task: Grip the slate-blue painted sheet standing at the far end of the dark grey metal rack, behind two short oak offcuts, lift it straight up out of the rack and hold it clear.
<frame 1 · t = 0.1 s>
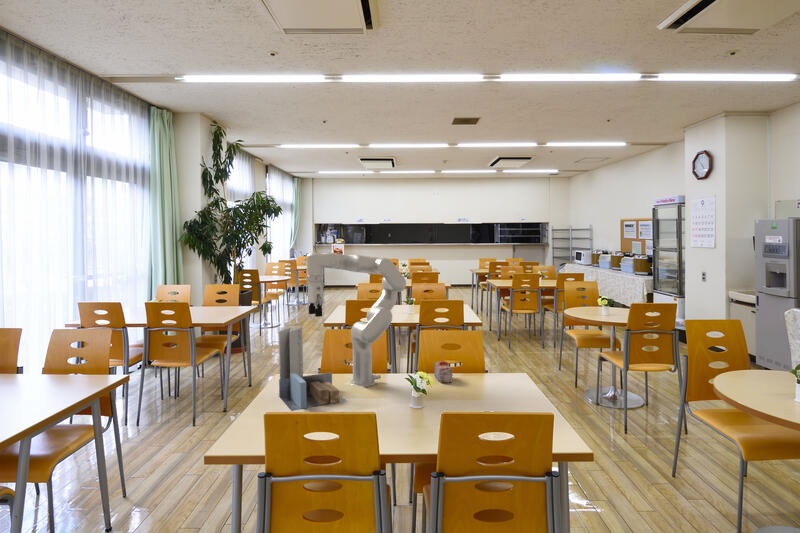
hand: (315, 315, 226), 37 cm above the table, tool pointing down, fingers open, 9 cm apart
offcut short: (329, 397, 216), point 1 cm above the table, touching rack
offcut tall: (319, 399, 213), point 1 cm above the table, touching rack
food item: (442, 380, 246), on the table
sheet: (298, 402, 209), point 1 cm above the table, touching rack
brochure: (291, 390, 230), on the table
rack: (313, 401, 213), on the table
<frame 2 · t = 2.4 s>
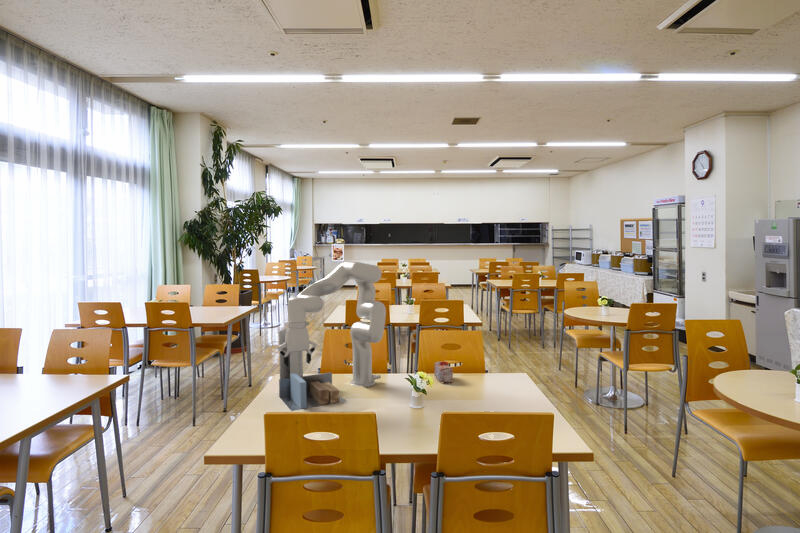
hand: (297, 364, 208), 18 cm above the table, tool pointing down, fingers open, 9 cm apart
nothing on the table moved.
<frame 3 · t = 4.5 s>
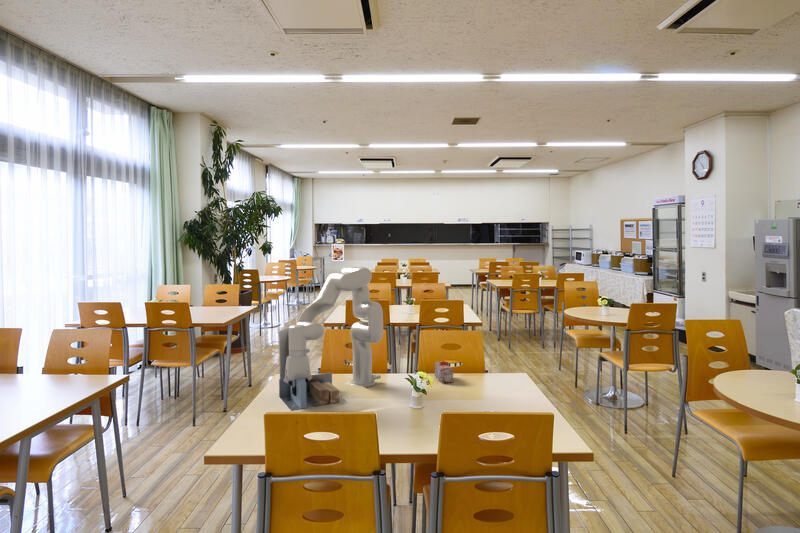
hand: (298, 394, 209), 5 cm above the table, tool pointing down, fingers closed on sheet, 2 cm apart
sheet: (298, 402, 209), point 1 cm above the table, touching gripper
everything else where it was.
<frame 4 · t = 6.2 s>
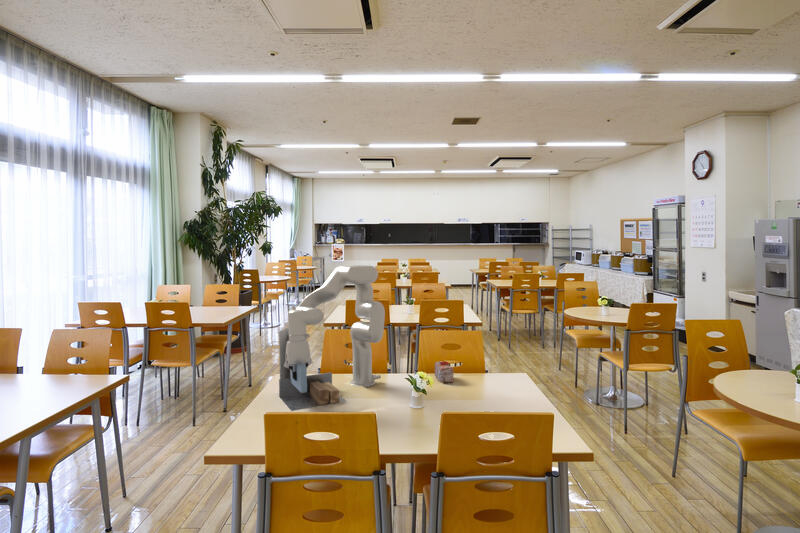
hand: (298, 379, 209), 11 cm above the table, tool pointing down, fingers closed on sheet, 2 cm apart
sheet: (298, 387, 209), point 8 cm above the table, touching gripper
everything else where it was.
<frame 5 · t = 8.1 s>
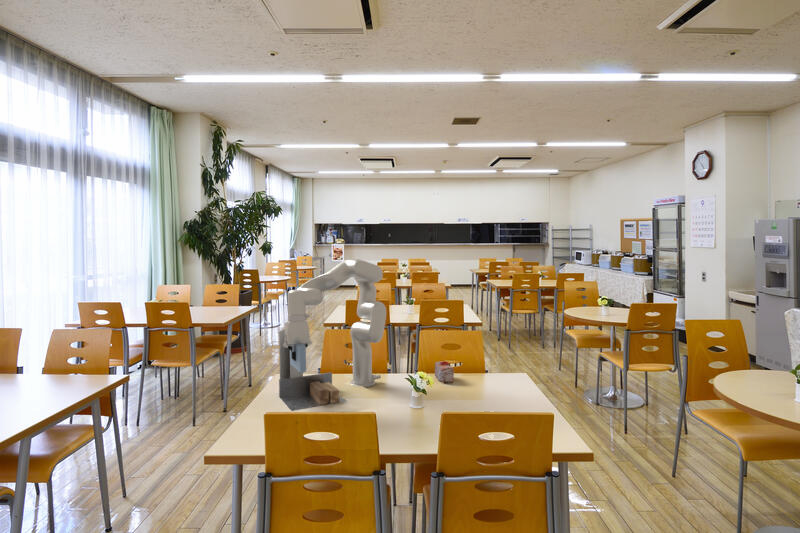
hand: (297, 359, 208), 20 cm above the table, tool pointing down, fingers closed on sheet, 2 cm apart
sheet: (298, 367, 208), point 16 cm above the table, touching gripper
everything else where it was.
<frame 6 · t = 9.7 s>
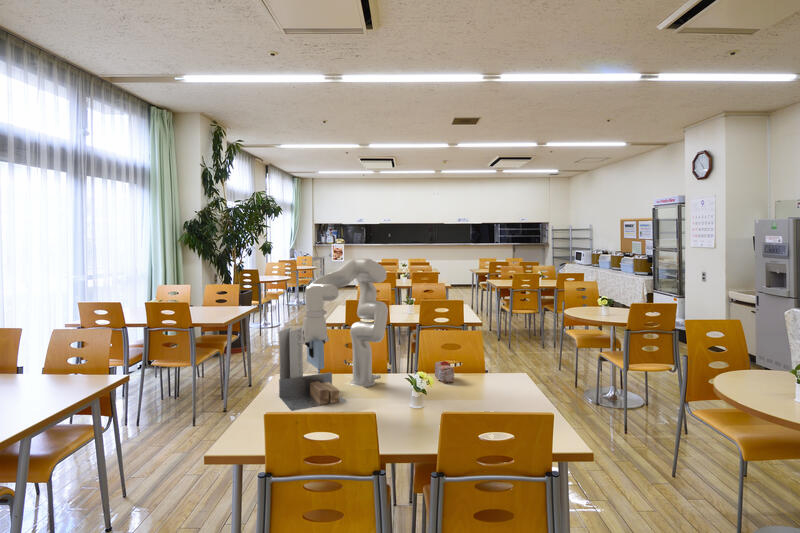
hand: (315, 356, 205), 22 cm above the table, tool pointing down, fingers closed on sheet, 2 cm apart
sheet: (315, 364, 206), point 18 cm above the table, touching gripper
everything else where it was.
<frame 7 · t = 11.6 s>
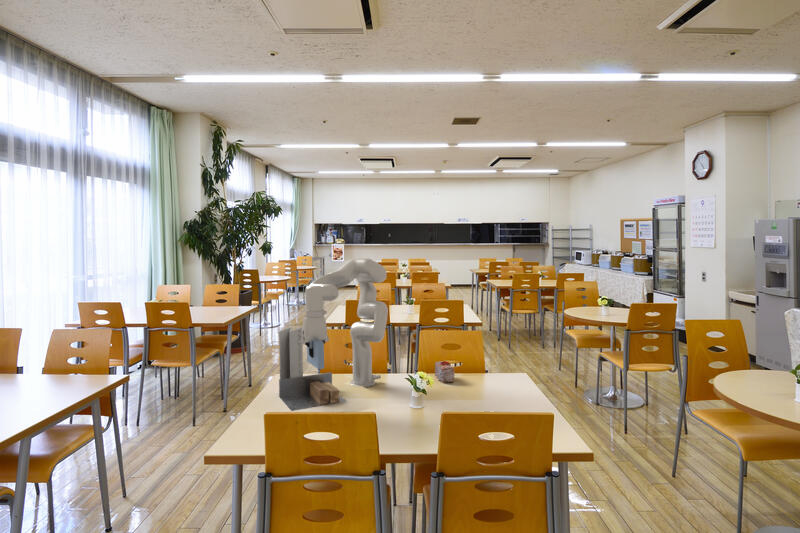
hand: (315, 356, 205), 22 cm above the table, tool pointing down, fingers closed on sheet, 2 cm apart
sheet: (315, 364, 206), point 18 cm above the table, touching gripper
everything else where it was.
at the end: sheet point 18.4 cm above the table; the gripper is holding sheet; offcut tall moved 0.0 cm from its start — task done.
